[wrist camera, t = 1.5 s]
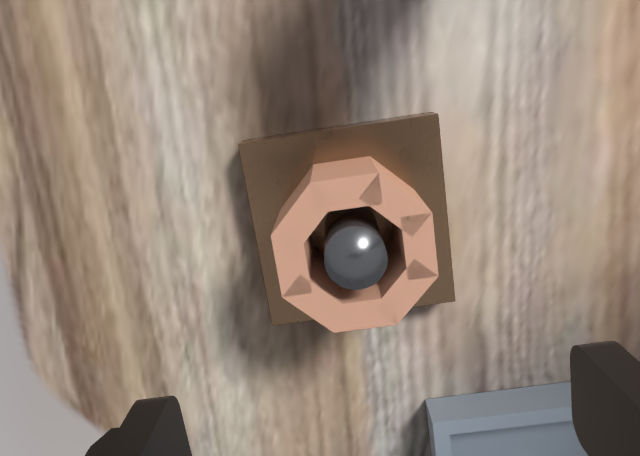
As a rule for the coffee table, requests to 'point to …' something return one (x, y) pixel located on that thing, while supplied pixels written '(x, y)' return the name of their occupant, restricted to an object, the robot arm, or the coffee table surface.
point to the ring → (402, 249)
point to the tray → (505, 423)
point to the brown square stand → (356, 223)
